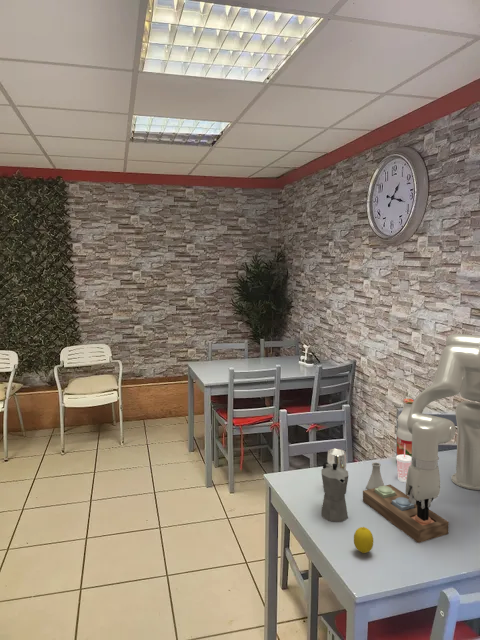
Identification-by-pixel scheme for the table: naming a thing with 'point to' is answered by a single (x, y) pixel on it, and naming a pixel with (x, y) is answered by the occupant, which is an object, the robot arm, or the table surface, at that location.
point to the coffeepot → (334, 493)
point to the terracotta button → (422, 520)
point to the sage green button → (385, 491)
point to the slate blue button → (402, 504)
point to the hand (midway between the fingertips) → (422, 518)
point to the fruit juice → (404, 430)
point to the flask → (375, 477)
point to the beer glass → (337, 458)
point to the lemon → (363, 540)
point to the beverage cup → (403, 466)
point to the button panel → (406, 516)
